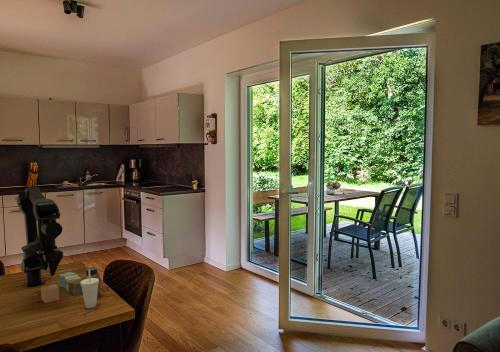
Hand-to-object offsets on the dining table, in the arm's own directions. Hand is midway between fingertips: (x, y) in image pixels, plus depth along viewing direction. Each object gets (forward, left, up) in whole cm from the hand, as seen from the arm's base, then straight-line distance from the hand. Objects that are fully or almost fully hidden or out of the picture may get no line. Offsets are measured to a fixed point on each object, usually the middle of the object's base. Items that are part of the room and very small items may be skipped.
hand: (48, 272), depth 144 cm
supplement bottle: (+9, +13, -11) cm, 19 cm away
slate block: (-11, +10, -11) cm, 18 cm away
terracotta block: (0, 0, -11) cm, 11 cm away
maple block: (-5, +10, -11) cm, 15 cm away
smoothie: (+18, +9, -11) cm, 23 cm away
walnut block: (+1, +10, -11) cm, 15 cm away
